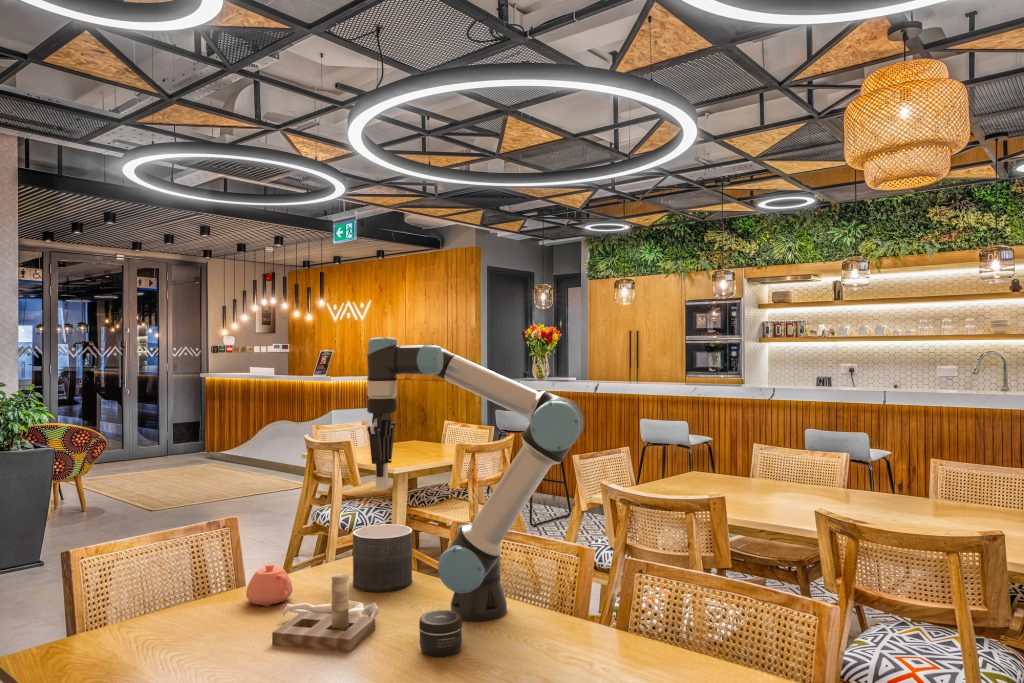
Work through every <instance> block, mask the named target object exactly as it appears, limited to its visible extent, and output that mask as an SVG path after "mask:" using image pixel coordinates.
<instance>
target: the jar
mask: <svg viewBox="0 0 1024 683" xmlns="http://www.w3.org/2000/svg"><path fill="white" fill-rule="evenodd" d="M418 625H419V626H418V629H419V647H420V651H421V653H423V654H424V655H425V656H427V657H430V658H438V659H440V658H442V659H443V658H449V657H452V656H454V655H456V654H457V653H458V652H459V651H460V649H461V646H462V641H463V640H462V639H463V635H462V634H463V633H462V632H463V631H462V628H463V620H462V618H461V615H460V614H458V613H457V612H454V611H451V610H446V609H441V610H432V611H429V612H425V613H424V614H422V615H421V616H420V617H419V624H418Z"/></svg>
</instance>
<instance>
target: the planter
mask: <svg viewBox="0 0 1024 683" xmlns="http://www.w3.org/2000/svg"><path fill="white" fill-rule="evenodd" d="M412 583H413V529H412V527H410V526H407V525H403V524H402V525H401V524H391V523H390V524H388V523H387V524H385V523H384V524H374V525H373V524H372V525H366V526H363V527H358V528H356V529H355V530H353V532H352V585H353V587H354V588H355V589H356V590H359V591H363V592H369V593H385V592H392V591H397V590H401V589H404V588H407V587H408V586H410V585H412Z"/></svg>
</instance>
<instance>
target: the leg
mask: <svg viewBox="0 0 1024 683" xmlns="http://www.w3.org/2000/svg"><path fill="white" fill-rule="evenodd" d="M349 577H350V576H349V574H347V573H338V574H334V575H332V576H331V600H332V601H331V603H332V625H331V628H332V630H339V631H346V630H347V629H348V628H349V610H350V609H349V606H350V604H349V600H350V599H349V596H350V594H349V593H350V592H349V591H350V590H349V584H350V583H349V582H350V579H349Z"/></svg>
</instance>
